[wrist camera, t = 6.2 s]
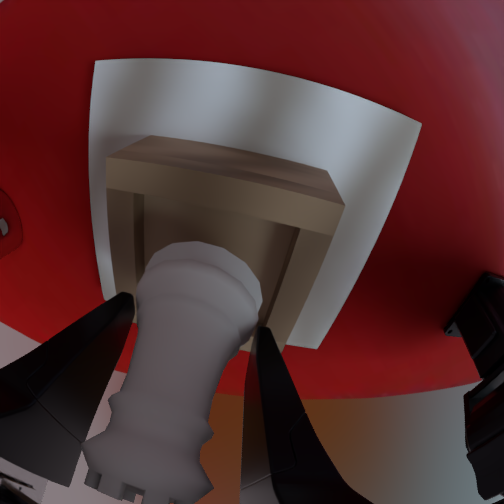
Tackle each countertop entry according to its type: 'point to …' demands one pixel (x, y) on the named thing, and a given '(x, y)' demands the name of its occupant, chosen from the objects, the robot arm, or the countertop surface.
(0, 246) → the beer glass
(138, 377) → the rook chess piece
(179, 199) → the board
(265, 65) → the countertop surface
